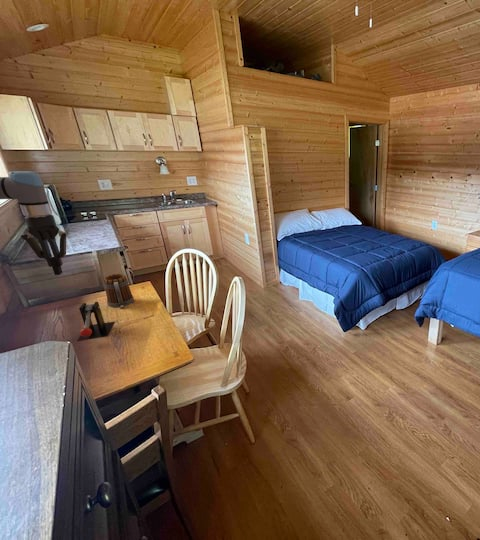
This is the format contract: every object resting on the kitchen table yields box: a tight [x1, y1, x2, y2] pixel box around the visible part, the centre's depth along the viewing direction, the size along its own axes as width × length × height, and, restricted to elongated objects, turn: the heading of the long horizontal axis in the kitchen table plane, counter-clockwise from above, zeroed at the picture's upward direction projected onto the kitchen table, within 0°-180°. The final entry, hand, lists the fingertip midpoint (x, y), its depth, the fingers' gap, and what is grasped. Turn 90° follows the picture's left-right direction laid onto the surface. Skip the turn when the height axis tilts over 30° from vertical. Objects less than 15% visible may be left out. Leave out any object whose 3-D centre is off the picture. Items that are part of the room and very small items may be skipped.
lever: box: [79, 303, 94, 337], centre depth 120 cm, size 14×4×4 cm
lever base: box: [76, 301, 116, 342], centre depth 125 cm, size 12×10×14 cm
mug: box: [103, 273, 135, 310], centre depth 146 cm, size 16×11×15 cm
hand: (58, 273), depth 119 cm, fingers closed
